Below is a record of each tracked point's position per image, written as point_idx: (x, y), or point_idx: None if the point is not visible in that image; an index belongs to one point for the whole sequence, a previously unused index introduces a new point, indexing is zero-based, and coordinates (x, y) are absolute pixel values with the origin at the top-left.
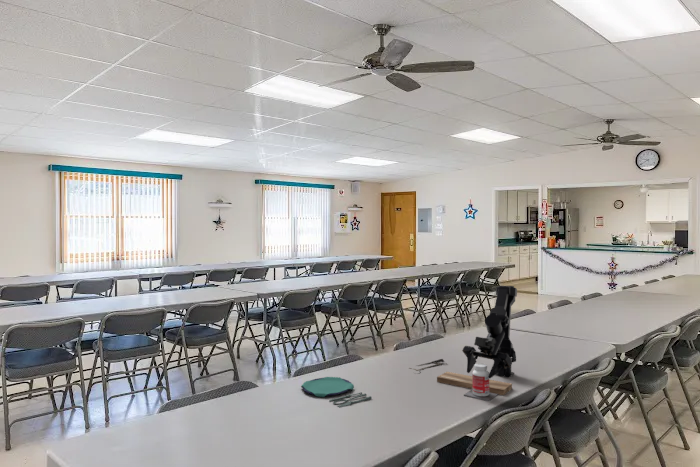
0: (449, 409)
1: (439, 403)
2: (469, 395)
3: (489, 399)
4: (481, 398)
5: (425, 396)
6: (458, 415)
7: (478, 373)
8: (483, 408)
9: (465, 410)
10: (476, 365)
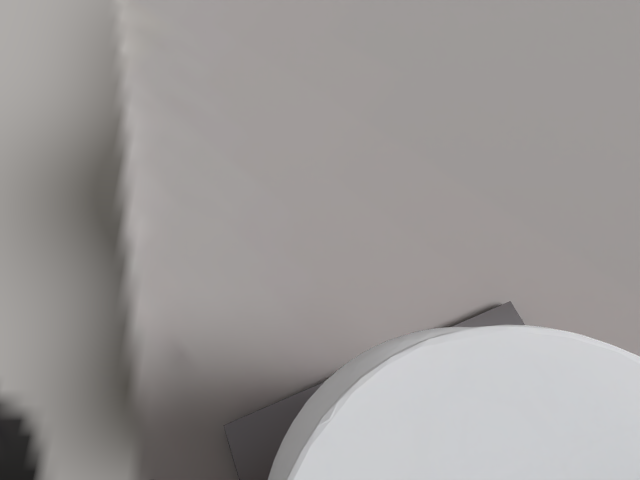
0: (294, 26)
1: (433, 27)
2: None
3: (235, 445)
4: (310, 388)
5: (637, 15)
6: (178, 21)
7: (375, 362)
8: (143, 238)
9: (209, 101)
10: (575, 396)
